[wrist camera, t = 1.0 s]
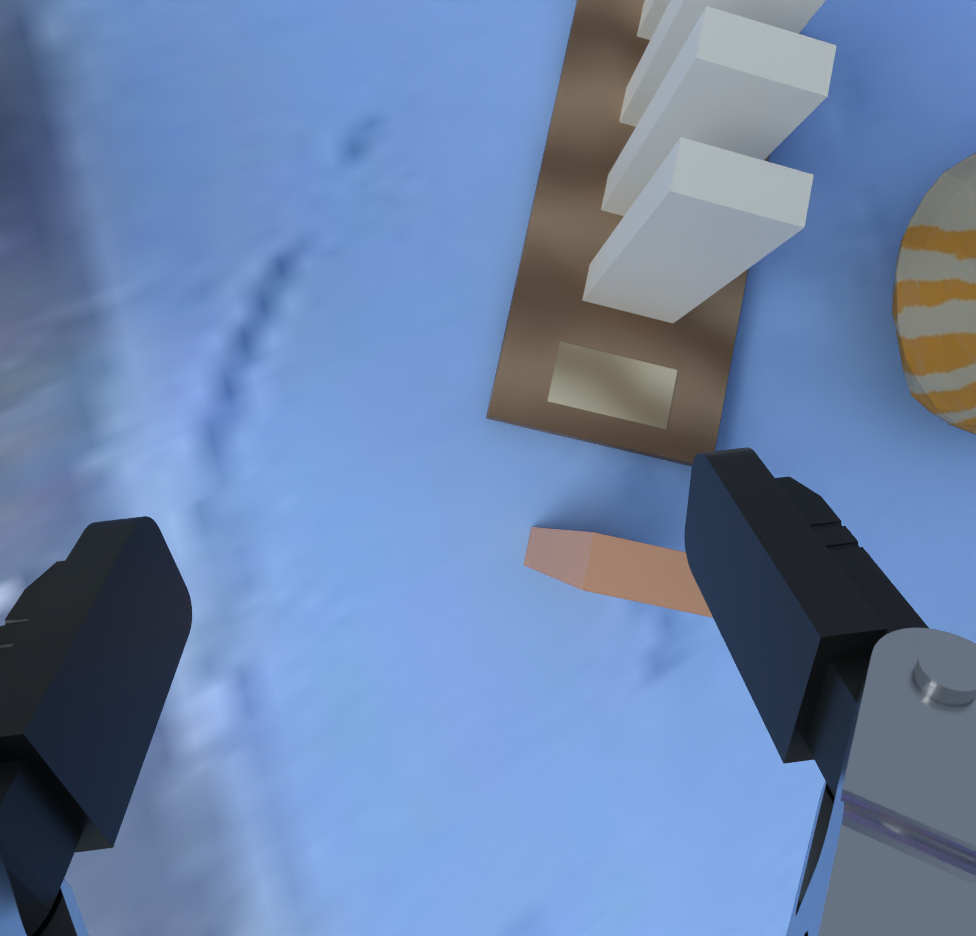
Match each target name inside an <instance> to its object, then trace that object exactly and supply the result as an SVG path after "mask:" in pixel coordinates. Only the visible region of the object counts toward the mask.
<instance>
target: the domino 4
mask: <svg viewBox="0 0 976 936" xmlns="http://www.w3.org/2000/svg"><path fill="white" fill-rule="evenodd" d="M524 565H525V566H527V567H529V568H532V569H534V570H536V571H539V572H541V573H544V574H546V575H548V576H551V577H553V578H555V579H558V580H560V581H562V582H565V583H567V584H569V585H572V586H574V587H576V588H579V589H581V590H584V591H589V592H594V593H599V594H603V595H608V596H613V597H618V598H622V599H627V600H632V601H637V602H642V603H646V604H651V605H656V606H661V607H665V608H670V609H675V610H680V611H684V612H689V613H694V614H699V615H703V616H708V617H713V616H712V614H711V612H710V610H709V608H708V606H707V604H706V602H705V600H704V597H703V595H702V593H701V591H700V589H699V587H698V585H697V583H696V581H695V579H694V577H693V575H692V572H691V570H690V567H689V564H688V560H687V555H686V552H681V551H677V550H672V549H668V548H663V547H659V546H654V545H649V544H645V543H640V542H636V541H631V540H627V539H622V538H617V537H613V536H608V535H604V534H599V533H595V532H584V531H573V530H561V529H550V528H538V527H531V532H530V537H529V542H528V547H527V552H526V556H525V561H524Z"/></svg>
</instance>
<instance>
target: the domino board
mask: <svg viewBox="0 0 976 936" xmlns="http://www.w3.org/2000/svg"><path fill="white" fill-rule="evenodd" d="M644 1H645V0H577V3H576V8H575V12H574V17H573V21H572V26H571V30H570V35H569V40H568V44H567V49H566V53H565V58H564V63H563V67H562V72H561V76H560V81H559V86H558V90H557V95H556V99H555V104H554V109H553V113H552V118H551V122H550V127H549V132H548V136H547V141H546V145H545V150H544V155H543V159H542V164H541V168H540V173H539V178H538V182H537V187H536V191H535V196H534V201H533V205H532V210H531V214H530V219H529V224H528V228H527V233H526V237H525V242H524V247H523V251H522V256H521V260H520V265H519V270H518V274H517V279H516V283H515V288H514V292H513V297H512V302H511V306H510V311H509V315H508V320H507V325H506V329H505V334H504V338H503V343H502V348H501V352H500V357H499V361H498V366H497V371H496V375H495V380H494V384H493V389H492V394H491V398H490V403H489V407H488V412H487V417H486V418H487V419H492V420H496V421H500V422H505V423H509V424H513V425H518V426H522V427H526V428H530V429H535V430H539V431H543V432H548V433H552V434H556V435H561V436H565V437H569V438H573V439H578V440H582V441H586V442H591V443H595V444H599V445H604V446H608V447H612V448H616V449H621V450H625V451H629V452H634V453H638V454H642V455H646V456H651V457H655V458H659V459H664V460H668V461H672V462H677V463H681V464H685V465H689V466H692V464H693V460H694V458H695V456H696V455H697V454H698V453H704V452H713V451H715V447H716V441H717V436H718V430H719V425H720V420H721V414H722V409H723V403H724V398H725V392H726V387H727V382H728V376H729V371H730V365H731V360H732V354H733V349H734V344H735V338H736V333H737V327H738V322H739V316H740V311H741V306H742V300H743V295H744V289H745V284H746V278H747V273H748V269H747V270H746V271H744V272H743V273H742V274H740V275H739V276H738V277H736V278H735V279H734V280H732V281H731V282H729V283H728V284H727V285H725V286H724V287H723V288H721V289H720V290H718V291H717V292H716V293H714V294H713V295H712V296H710V297H709V298H707V299H706V300H705V301H703V302H702V303H701V304H699V305H698V306H697V307H695V308H694V309H692V310H691V311H690V312H688V313H687V314H686V315H684V316H683V317H681V318H680V319H679V320H677V321H676V322H675V323H669V322H665V321H661V320H657V319H653V318H649V317H645V316H641V315H638V314H634V313H630V312H626V311H622V310H618V309H614V308H610V307H606V306H602V305H598V304H594V303H590V302H586V301H582V299H583V294H584V289H585V285H586V280H587V275H588V270H589V265H590V263H591V262H592V260H593V259H594V257H595V256H596V255H597V253H598V252H599V250H600V249H601V248H602V246H603V245H604V244H605V242H606V241H607V239H608V238H609V237H610V235H611V234H612V232H613V231H614V230H615V228H616V227H617V225H618V224H619V223H620V221H621V220H622V218H623V217H624V216H621V215H617V214H614V213H610V212H606V211H602V210H601V207H602V202H603V197H604V193H605V188H606V183H607V178H608V174H609V172H610V171H611V169H612V167H613V166H614V164H615V162H616V160H617V159H618V157H619V155H620V154H621V152H622V150H623V148H624V147H625V145H626V143H627V142H628V140H629V138H630V136H631V135H632V133H633V131H634V130H635V128H636V127H635V126H631V125H628V124H624V123H620V122H619V120H620V116H621V111H622V106H623V101H624V96H625V92H626V87H627V85H628V83H629V81H630V79H631V77H632V75H633V73H634V71H635V69H636V68H637V66H638V64H639V62H640V60H641V58H642V56H643V54H644V52H645V50H646V48H647V46H648V44H649V42H650V40H648V39H644V38H641V37H638V36H637V33H638V28H639V24H640V19H641V14H642V9H643V4H644ZM768 159H769V156H768V157H767V158H766V159H765V160H764V161H767V162H768Z"/></svg>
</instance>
